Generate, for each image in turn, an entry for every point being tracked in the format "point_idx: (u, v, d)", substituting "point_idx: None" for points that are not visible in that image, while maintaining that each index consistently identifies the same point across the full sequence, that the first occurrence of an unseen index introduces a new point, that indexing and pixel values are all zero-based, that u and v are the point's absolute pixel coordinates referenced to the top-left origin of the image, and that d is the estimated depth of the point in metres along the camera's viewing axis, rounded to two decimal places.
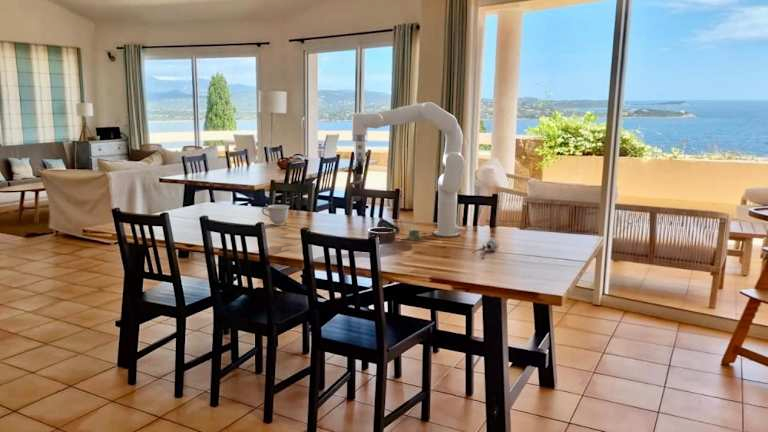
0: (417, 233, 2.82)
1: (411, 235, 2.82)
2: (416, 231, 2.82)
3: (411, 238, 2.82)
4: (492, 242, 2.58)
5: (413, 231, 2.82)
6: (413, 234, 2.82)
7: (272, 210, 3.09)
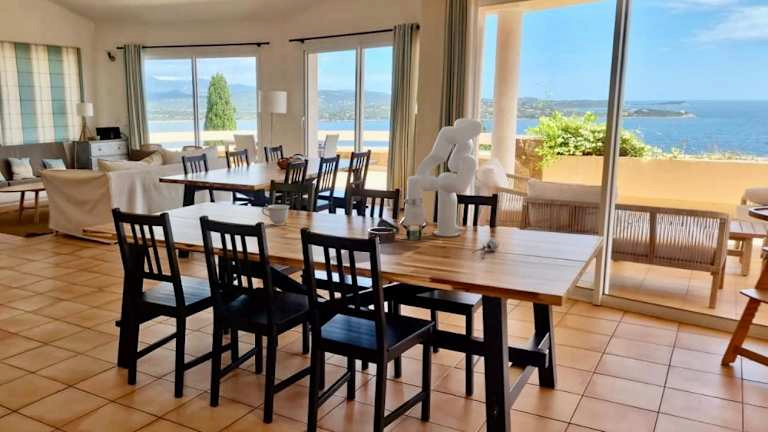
0: (417, 233, 2.82)
1: (411, 235, 2.82)
2: (416, 231, 2.82)
3: (411, 238, 2.82)
4: (492, 242, 2.58)
5: (413, 231, 2.82)
6: (413, 234, 2.82)
7: (272, 210, 3.09)
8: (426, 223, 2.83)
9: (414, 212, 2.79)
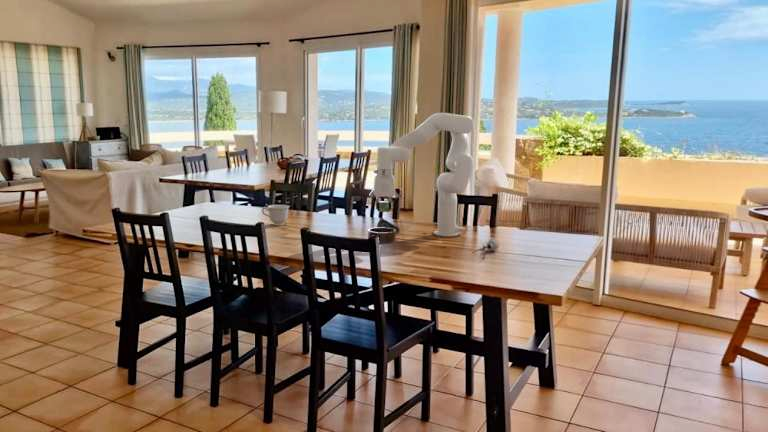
0: (387, 205, 2.75)
1: (381, 207, 2.75)
2: (386, 203, 2.75)
3: (381, 210, 2.75)
4: (492, 242, 2.58)
5: (383, 203, 2.75)
6: (383, 206, 2.75)
7: (272, 210, 3.09)
8: (396, 195, 2.76)
9: (384, 183, 2.73)
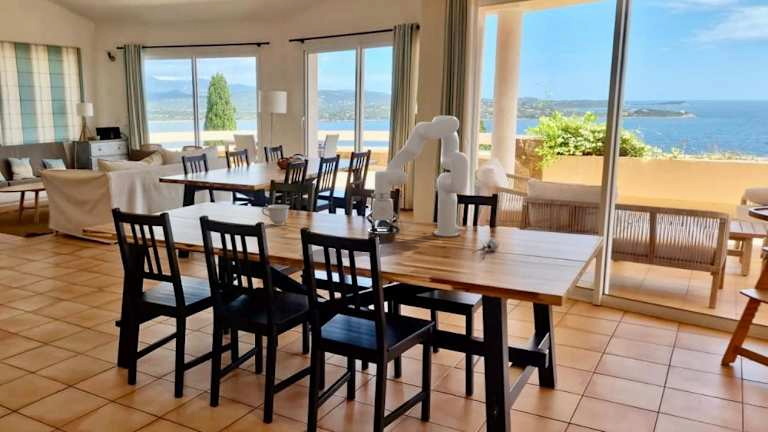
0: None
1: None
2: (384, 231, 2.77)
3: None
4: (492, 242, 2.58)
5: (381, 231, 2.77)
6: None
7: (272, 210, 3.09)
8: (396, 217, 2.78)
9: (382, 207, 2.74)
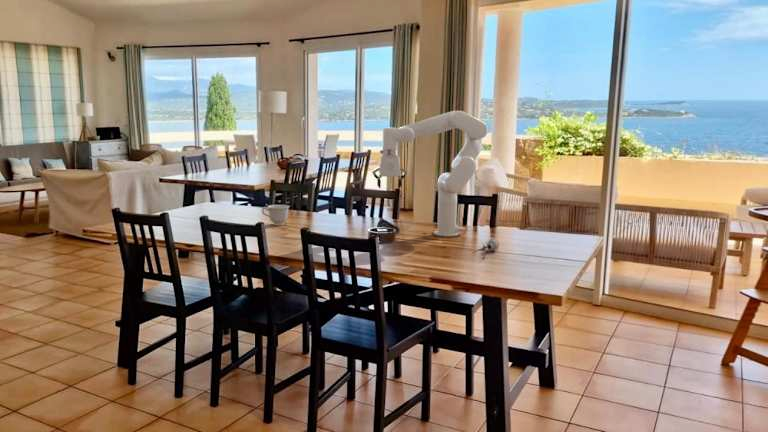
0: None
1: None
2: (384, 231, 2.77)
3: None
4: (492, 242, 2.58)
5: (381, 231, 2.77)
6: None
7: (272, 210, 3.09)
8: (404, 172, 2.84)
9: (389, 163, 2.80)
